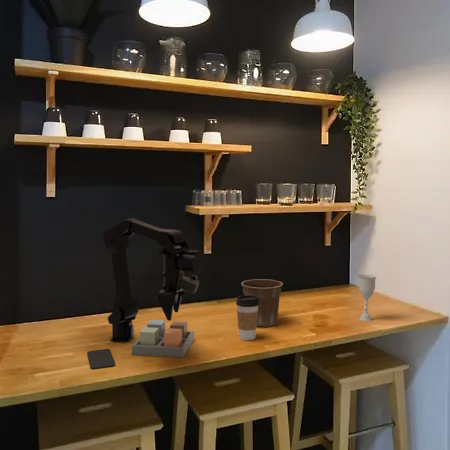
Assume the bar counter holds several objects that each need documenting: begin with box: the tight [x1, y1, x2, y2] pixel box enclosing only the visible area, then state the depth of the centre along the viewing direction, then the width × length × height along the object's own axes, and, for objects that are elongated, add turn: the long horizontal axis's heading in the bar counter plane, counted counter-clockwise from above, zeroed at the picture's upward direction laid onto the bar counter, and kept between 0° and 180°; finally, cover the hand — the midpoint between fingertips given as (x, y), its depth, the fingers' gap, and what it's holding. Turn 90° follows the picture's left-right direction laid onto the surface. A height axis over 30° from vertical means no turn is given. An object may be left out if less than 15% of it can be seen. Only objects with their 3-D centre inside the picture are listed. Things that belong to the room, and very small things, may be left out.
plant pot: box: [241, 278, 284, 328], centre depth 182 cm, size 16×16×16 cm
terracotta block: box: [164, 327, 182, 347], centre depth 151 cm, size 5×5×6 cm
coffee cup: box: [235, 295, 259, 341], centre depth 165 cm, size 8×8×15 cm
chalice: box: [357, 273, 378, 322], centre depth 187 cm, size 7×7×18 cm
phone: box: [86, 348, 116, 370], centre depth 145 cm, size 7×1×15 cm
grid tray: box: [131, 319, 195, 358], centre depth 156 cm, size 17×17×7 cm
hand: (173, 316), depth 151 cm, fingers open, 9 cm apart
